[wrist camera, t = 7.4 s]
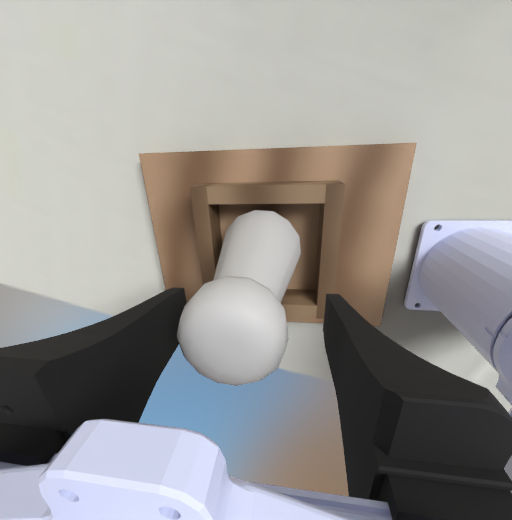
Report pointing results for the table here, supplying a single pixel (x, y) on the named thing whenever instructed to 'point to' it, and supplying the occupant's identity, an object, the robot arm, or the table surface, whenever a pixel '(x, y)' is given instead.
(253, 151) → the socket board
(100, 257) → the table surface
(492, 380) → the table surface
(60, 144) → the table surface
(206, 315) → the salt shaker
